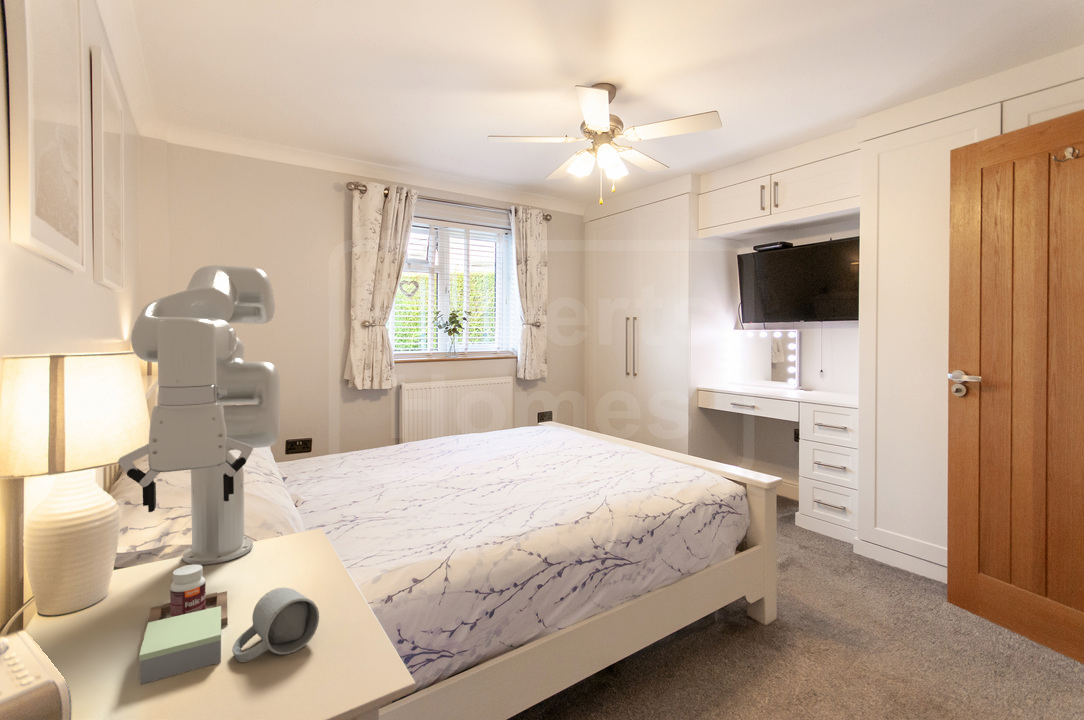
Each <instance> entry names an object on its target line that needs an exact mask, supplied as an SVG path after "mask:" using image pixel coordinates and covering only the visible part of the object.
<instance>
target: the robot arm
mask: <svg viewBox="0 0 1084 720" xmlns="http://www.w3.org/2000/svg"><path fill="white" fill-rule="evenodd" d="M275 307H276V306H275V298H274V290H273V286H272V282H271V280H270V277H269V276H268V275H267V273H266V272H265V271H264V270H262V269H259V268H258V267H250V266H249V267H247V266H235V265H233V266H232V265H217V264H214V265H213V264H212V265H205V266H202V267H200V268H198V269H197V270H196V271H195V272H194V273H193V274H192V277H191V279H190V280H189V283H188V285H187V286H186V289H185V290H183V291H179V292H176V293H173V294H171V295H168V296H164V297H160V298H158V299H156V300H153V301H151V302H149V303H148V304H145V306H144V308H142V310H141V312H140V313H139V315H138V317H137V319H136V320H135V321H134V324H133V328H132V331H131V337H130V342H131V343H130V344H131V347H132V350H133V352H134V354H135V355H136V357H138V358H139V359H140V360H142V361H145V362H149V363H157V379H158V380H157V381H158V382H157V383H158V384H157V385H158V386H157V388H158V389H157V390H158V392H157V393H158V394H157V395H158V397H157V398H158V405H154V406H153V407H152V410H151V411H152V412H151V416H150V423H149V430H148V431H149V435H148V443H146V444H144V445H143V446H141V447H139V448H137V449H134V450H133V451H130V452H128V453H127V454H125V455H122V456H121V457H120V458H119V459H118V460H117V463H118V464H119V466H120V467H121V469H122V470H123V471H124V472H125V474H126V476H127V477H128V478H129V479H131V480H133V481H134V482H136V483H137V484H139V486H140V487H142V506H143V507H147V508H148V509H147V510H148V511H147V512H148V513H153V512H155V510H156V507H157V485H156V484H157V483H156V482H155V478H156V477H158V476H159V474H160V473H170V472H179V471H189V470H190V501H191V502H190V505H191V508H190V510H191V511H190V512H191V513H190V514H191V546H190V547H188V548H187V549H185V550H184V551H183V553H182V559H183V562H185V563H187V564H188V565H196V564H197V565H201V566H203V565H213V564H214V565H215V564H220V563H223V562H228V561H232V560H235V559H237V558H240V557H242V556H244V555H246V554H247V553H249V552H250V551H251V550H252V549H253V547H254V542H253V540H252V538H249V537H247V536H246V535H245V474H244V473H245V472H244V468H243V466H245V465H246V463H247V461H248V459H249V457H250V456H251V454H252V452H253V450H254V449H258V448H260V449H261V448H268V447H272V446H273V445H275V444H277V441H279V437H280V434H281V380H280V373H279V371H278V368H277V367H276V365H274V364H273V363H271V362H269V361H246V360H245V359H244V357H245V354H244V353H245V346H244V343H243V342H242V341H241V339H240V338H239V337H238V336H237V333H236V331H235V329H234V327H232V325H231V324H245V325H246V324H248V325H250V324H252V325H253V324H255V325H256V324H257V325H259V324H268V323H269V322H270V321H272V319H273V318H274V315H275V309H276V308H275ZM244 360H245V361H244ZM235 450H236V451H237V450H238V451H240V454H239V456H238V457H236V456H235V455H233V453H232V452H231V451H235ZM147 455H148V456H147ZM145 456H147V457H148V461H147V462H148V467H149V469H148V470H147V471H146V472H144V471H142V470H141V469H140V468H139V467H137V466H136V465H135V463H134V462H135V461H136V460H139V459H140V458H143V457H145Z"/></svg>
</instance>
